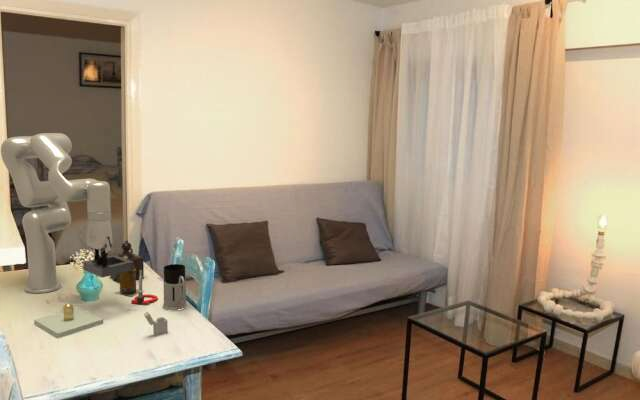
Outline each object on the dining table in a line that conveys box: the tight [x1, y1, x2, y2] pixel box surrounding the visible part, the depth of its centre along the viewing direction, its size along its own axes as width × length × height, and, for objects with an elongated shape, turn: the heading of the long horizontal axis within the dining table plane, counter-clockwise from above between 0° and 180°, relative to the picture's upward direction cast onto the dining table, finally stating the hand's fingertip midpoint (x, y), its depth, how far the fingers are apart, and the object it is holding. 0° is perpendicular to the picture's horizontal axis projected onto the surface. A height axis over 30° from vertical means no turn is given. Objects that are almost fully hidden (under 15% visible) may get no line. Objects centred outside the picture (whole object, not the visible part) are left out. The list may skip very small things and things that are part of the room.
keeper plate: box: [33, 306, 104, 339], centre depth 168 cm, size 16×15×2 cm
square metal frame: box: [82, 254, 134, 278], centre depth 179 cm, size 12×12×3 cm
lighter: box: [143, 311, 169, 336], centre depth 162 cm, size 7×2×8 cm, turn 128°
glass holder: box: [162, 263, 188, 311], centre depth 183 cm, size 9×14×15 cm, turn 34°
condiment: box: [114, 263, 145, 297], centre depth 198 cm, size 7×8×12 cm
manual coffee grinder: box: [109, 240, 145, 284], centre depth 212 cm, size 16×11×18 cm
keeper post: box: [62, 302, 74, 321], centre depth 168 cm, size 3×3×6 cm
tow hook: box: [130, 270, 159, 306], centre depth 190 cm, size 8×13×9 cm
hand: (100, 265), depth 183 cm, fingers closed on square metal frame
